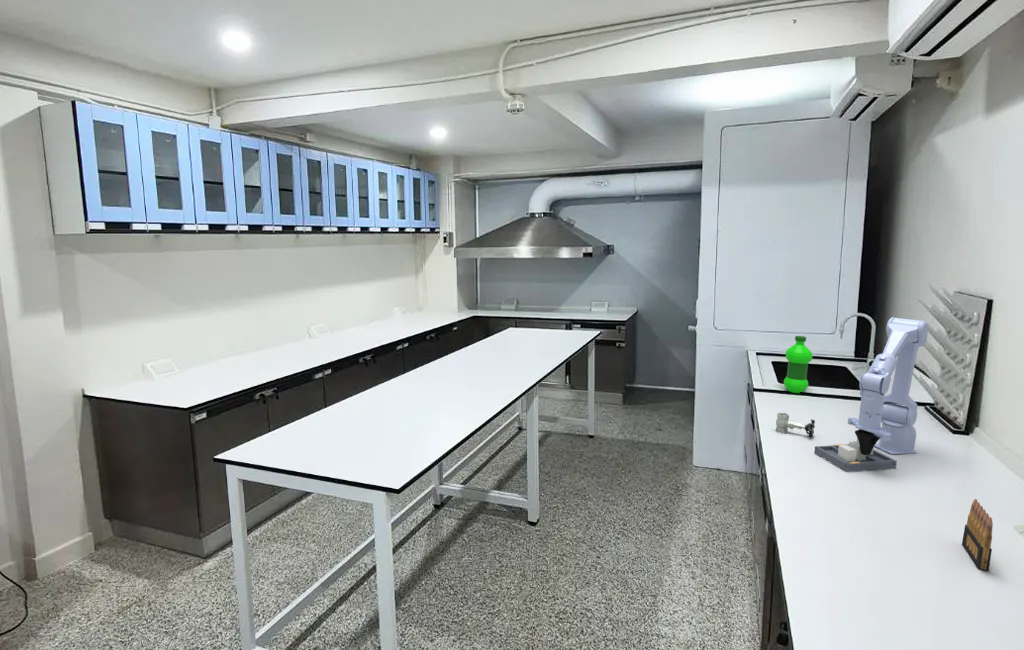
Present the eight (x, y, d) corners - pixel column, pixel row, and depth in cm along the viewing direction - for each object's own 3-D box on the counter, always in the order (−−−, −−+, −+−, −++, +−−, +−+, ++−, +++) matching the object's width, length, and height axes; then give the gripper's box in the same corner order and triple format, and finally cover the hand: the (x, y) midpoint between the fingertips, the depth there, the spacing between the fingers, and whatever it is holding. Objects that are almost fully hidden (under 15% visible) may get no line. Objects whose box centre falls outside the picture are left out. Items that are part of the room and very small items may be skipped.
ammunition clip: (961, 543, 130) (969, 496, 127) (971, 545, 129) (979, 497, 127) (977, 569, 120) (986, 518, 118) (988, 571, 119) (997, 520, 117)
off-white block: (855, 454, 176) (857, 441, 176) (865, 459, 173) (867, 446, 172) (847, 455, 176) (849, 441, 175) (857, 460, 172) (859, 446, 171)
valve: (773, 433, 199) (811, 440, 192) (775, 415, 197) (813, 422, 190) (777, 427, 204) (813, 435, 197) (778, 410, 203) (815, 417, 196)
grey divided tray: (860, 450, 184) (861, 442, 183) (895, 468, 170) (896, 460, 169) (814, 453, 181) (815, 445, 180) (846, 472, 167) (847, 463, 167)
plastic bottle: (807, 396, 242) (813, 340, 237) (780, 392, 247) (785, 337, 243) (809, 390, 250) (815, 336, 246) (783, 386, 256) (789, 333, 251)
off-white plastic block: (845, 458, 173) (846, 444, 173) (855, 463, 170) (856, 450, 169) (837, 459, 173) (838, 445, 172) (846, 464, 169) (848, 450, 168)
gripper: (841, 405, 175) (836, 445, 177) (878, 420, 161) (872, 464, 163) (861, 403, 176) (856, 444, 178) (899, 419, 162) (893, 463, 164)
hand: (865, 454), depth 171 cm, fingers closed
